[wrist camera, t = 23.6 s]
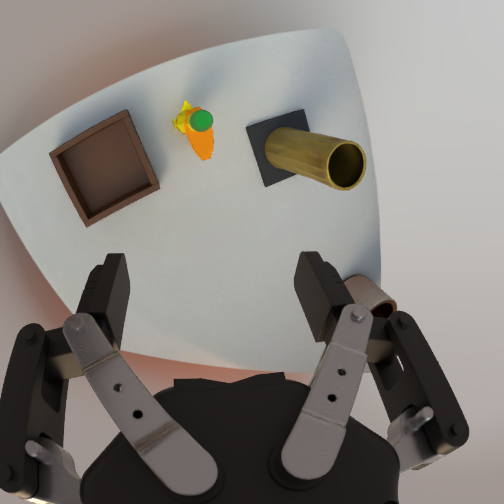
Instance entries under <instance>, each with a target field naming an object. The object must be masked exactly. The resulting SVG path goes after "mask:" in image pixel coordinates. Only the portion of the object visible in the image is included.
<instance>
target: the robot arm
mask: <svg viewBox="0 0 504 504" xmlns="http://www.w3.org/2000/svg"><path fill="white" fill-rule="evenodd" d="M294 288H295V291H296V294H297V296H298V299H299V301H300V303H301V306H302V308H303V311H304V313H305V316H306V318H307V321H308V324H309V326H310V329H311V331H312V334H313V336H314V339H315V341H316V342H323V341H325V343H326V347H325V349H324V351H323V354H322V356H321V358H320V361H319V363H318V365H317V368H316V370H315V372H314V374H313V377H312V379H311V381H310V383H309V385H308V386H307V385H305V384H302V383H300V382H297V381H293V380H288V379H285V375H284V372H278V373H269V374H259V375H255V376H252V377H249V378H246V379H243V380H240V381H236V382H233V383H225V382H219V381H213V380H207V379H202V378H199V379H174V387H171V388H167V389H164V390H162V391H160V392H158V393H157V394H155V395H153V396H152V395H151V393H150V392H149V391H148V390H147V389H146V388H145V386H144V385H143V384H142V382H141V381H140V380H139V379H138V377H137V376H136V375H135V373H134V372H133V371H132V369H131V368H130V367H129V365H128V364H127V363H126V361H125V360H124V359H123V357H122V356H121V355H120V353H119V352H118V351H120V347H121V340H122V334H123V328H124V322H125V316H126V310H127V305H128V300H129V295H130V280H129V275H128V269H127V264H126V259H125V255H124V253H109V254H107V256H106V259H105V262H104V264H103V265H97V266H96V267H95V268H94V269H93V270H92V271H91V272H90V274H89V277H88V280H87V282H86V285H85V289H84V291H83V294H82V296H81V299H80V302H79V305H78V308H77V311H76V314H74V315H72V316H70V317H69V318H68V319H67V320H66V321H65V322H64V324H63V327H61V328H57V329H53V330H49V331H45V330H44V328H43V327H42V326H41V325H39V324H36V323H32V324H28V325H26V326H24V327H23V328H22V329H21V330H20V331H19V333H18V335H17V338H16V341H15V344H14V347H13V351H12V354H11V357H10V361H9V364H8V368H7V372H6V376H5V380H4V384H3V389H2V393H1V398H0V488H1V489H2V490H4V491H6V492H8V493H10V494H13V495H16V496H17V497H19V498H21V499H24V500H27V501H30V502H33V503H36V504H399V501H398V480H399V474H400V473H402V472H404V471H407V470H409V469H412V470H419V469H421V468H423V467H425V466H427V465H429V464H431V463H433V462H435V461H437V460H439V459H440V458H442V457H444V456H445V455H447V454H449V453H451V452H452V451H454V450H456V449H457V448H459V447H460V446H462V445H464V443H466V441H467V440H468V437H469V427H468V424H467V421H466V419H465V417H464V415H463V412H462V410H461V408H460V406H459V404H458V402H457V399H456V397H455V395H454V393H453V391H452V389H451V387H450V385H449V383H448V381H447V379H446V377H445V375H444V373H443V371H442V369H441V367H440V365H439V363H438V361H437V360H436V357H435V356H434V354H433V352H432V350H431V348H430V346H429V345H428V343H427V341H426V339H425V337H424V336H423V334H422V332H421V330H420V329H419V327H418V325H417V324H416V322H415V320H414V319H413V318H412V317H411V316H410V315H409V314H407V313H406V312H403V311H394V312H392V313H391V314H390V316H389V318H388V319H387V318H381V317H374V316H372V314H371V312H370V311H369V310H368V309H367V308H366V307H364V306H362V305H359V304H356V303H355V301H354V299H353V298H352V296H351V294H350V292H349V291H348V289H347V287H346V285H345V284H344V283H343V280H342V279H341V277H340V275H339V274H338V272H337V270H336V269H335V268H334V267H333V266H332V265H331V264H330V263H328V262H324V261H323V260H322V258H321V256H320V254H319V253H318V252H317V251H309V252H301V253H300V256H299V260H298V264H297V268H296V272H295V276H294ZM397 356H399V359H400V361H401V363H402V365H403V369H404V372H403V370H402V368H401V365H400V363H399V361H398V359H397ZM366 362H367V363H368V365H369V368H370V370H371V373H372V375H373V378H374V380H375V383H376V385H377V388H378V390H379V393H380V396H381V398H382V401H383V404H384V406H385V409H386V411H387V414H388V417H389V420H390V423H391V424H390V425H389V427H388V437H387V440H385V439H384V438H382V437H381V436H379V435H378V434H376V433H375V432H373V431H372V430H370V429H369V428H367V427H366V426H364V425H363V424H361V423H360V422H358V421H357V420H355V419H354V418H353V417H351V416H350V412H351V410H352V407H353V404H354V401H355V398H356V395H357V391H358V388H359V385H360V381H361V378H362V375H363V371H364V368H365V364H366ZM83 375H85V376H86V378H87V380H88V382H89V383H90V385H91V387H92V388H93V390H94V392H95V393H96V395H97V396H98V398H99V400H100V401H101V403H102V404H103V406H104V407H105V409H106V410H107V412H108V413H109V415H110V416H111V418H112V419H113V421H114V422H115V423H116V425H117V426H118V428H119V429H120V430H121V431H120V432H119V434H118V435H117V436H116V437H115V438H114V439H113V441H112V442H111V443H110V444H109V445H108V446H107V447H106V448H105V450H104V451H103V452H102V453H101V454H100V455H99V457H98V458H97V459H96V460H95V461H94V462H93V463H92V464H91V466H90V467H89V468H88V469H87V470H86V471H85V473H84V474H83V476H82V479H81V478H80V477H79V476H78V474H77V472H76V470H75V465H74V461H73V458H72V456H71V455H70V454H69V453H68V452H67V451H66V450H64V449H63V438H64V437H63V436H64V421H65V408H66V399H67V390H68V382H69V379H70V378H75V377H79V376H83Z"/></svg>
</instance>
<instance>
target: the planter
mask: <svg viewBox="0 0 504 504" xmlns="http://www.w3.org/2000/svg"><path fill="white" fill-rule="evenodd" d="M343 283H344V284H345V285H346V287H347V289H348V291H349V292H350V294H351V296H352V298H353V299H354V301H355V303H356V304H359V305H362V306H364V307H366V308H367V309H368V310H369V311H370V312H371V314H372V316H374V317H381V318H387V319H388V318H389V316H390V314H391V313H392V312H394V311H397V304H396V302H395V301H394V300H393V299H392V298H391V297H390V296H388V295H387V294H386V293H385V292H384V291H383V290H381V289H380V288H379V287H378V286H377V285H376V284H374V283H373V282H372V281H371V280H370V279H368V278H367V277H365V276H362V275H357V276H353V277H351V278H349V279H347V280H346V281H344V282H343Z"/></svg>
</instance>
